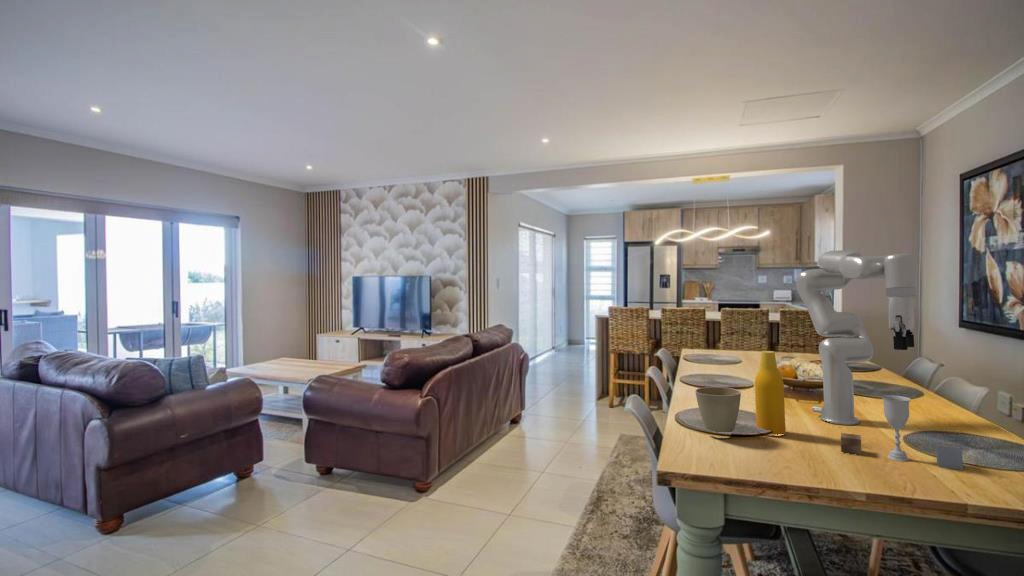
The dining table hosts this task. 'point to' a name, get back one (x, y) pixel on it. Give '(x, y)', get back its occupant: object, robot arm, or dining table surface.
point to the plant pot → (718, 407)
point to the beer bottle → (769, 395)
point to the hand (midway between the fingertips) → (904, 348)
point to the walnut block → (851, 443)
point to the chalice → (896, 421)
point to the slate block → (949, 457)
